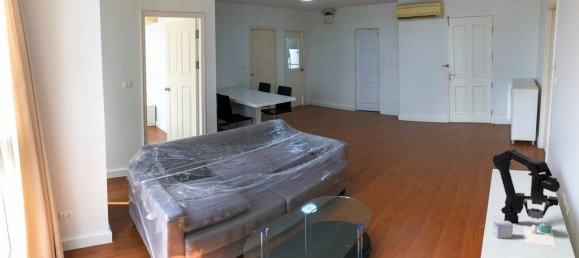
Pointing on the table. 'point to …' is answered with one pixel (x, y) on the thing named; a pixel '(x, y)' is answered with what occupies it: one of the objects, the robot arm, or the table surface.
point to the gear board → (539, 234)
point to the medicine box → (503, 229)
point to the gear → (535, 213)
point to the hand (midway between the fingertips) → (535, 214)
